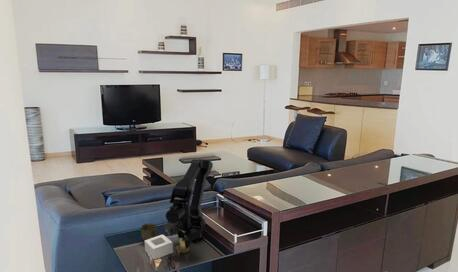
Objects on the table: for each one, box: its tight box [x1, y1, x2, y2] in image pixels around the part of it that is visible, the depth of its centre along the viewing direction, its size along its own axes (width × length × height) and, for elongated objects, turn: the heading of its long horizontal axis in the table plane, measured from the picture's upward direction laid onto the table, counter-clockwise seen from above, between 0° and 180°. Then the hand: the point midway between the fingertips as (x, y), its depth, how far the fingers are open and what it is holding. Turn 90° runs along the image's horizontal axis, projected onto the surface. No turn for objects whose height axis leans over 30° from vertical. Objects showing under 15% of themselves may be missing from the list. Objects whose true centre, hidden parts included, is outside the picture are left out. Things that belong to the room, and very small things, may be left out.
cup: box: [139, 222, 158, 241], centre depth 155 cm, size 8×7×8 cm
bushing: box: [179, 237, 190, 254], centre depth 146 cm, size 4×4×6 cm
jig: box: [143, 234, 174, 260], centre depth 147 cm, size 9×9×5 cm
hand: (184, 246), depth 147 cm, fingers closed on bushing, 4 cm apart
